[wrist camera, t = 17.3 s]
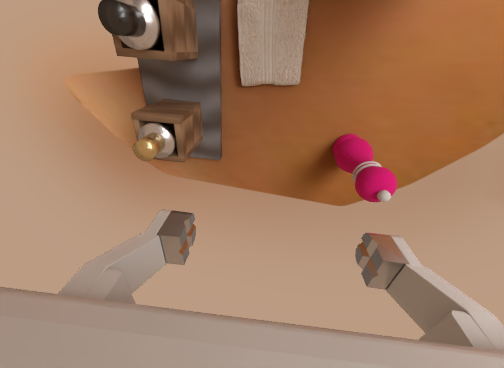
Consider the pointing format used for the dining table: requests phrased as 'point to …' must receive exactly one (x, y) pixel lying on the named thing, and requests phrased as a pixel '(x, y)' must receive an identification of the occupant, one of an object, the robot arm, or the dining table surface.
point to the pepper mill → (364, 169)
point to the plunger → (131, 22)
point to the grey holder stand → (183, 77)
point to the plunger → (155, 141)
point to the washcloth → (271, 41)
